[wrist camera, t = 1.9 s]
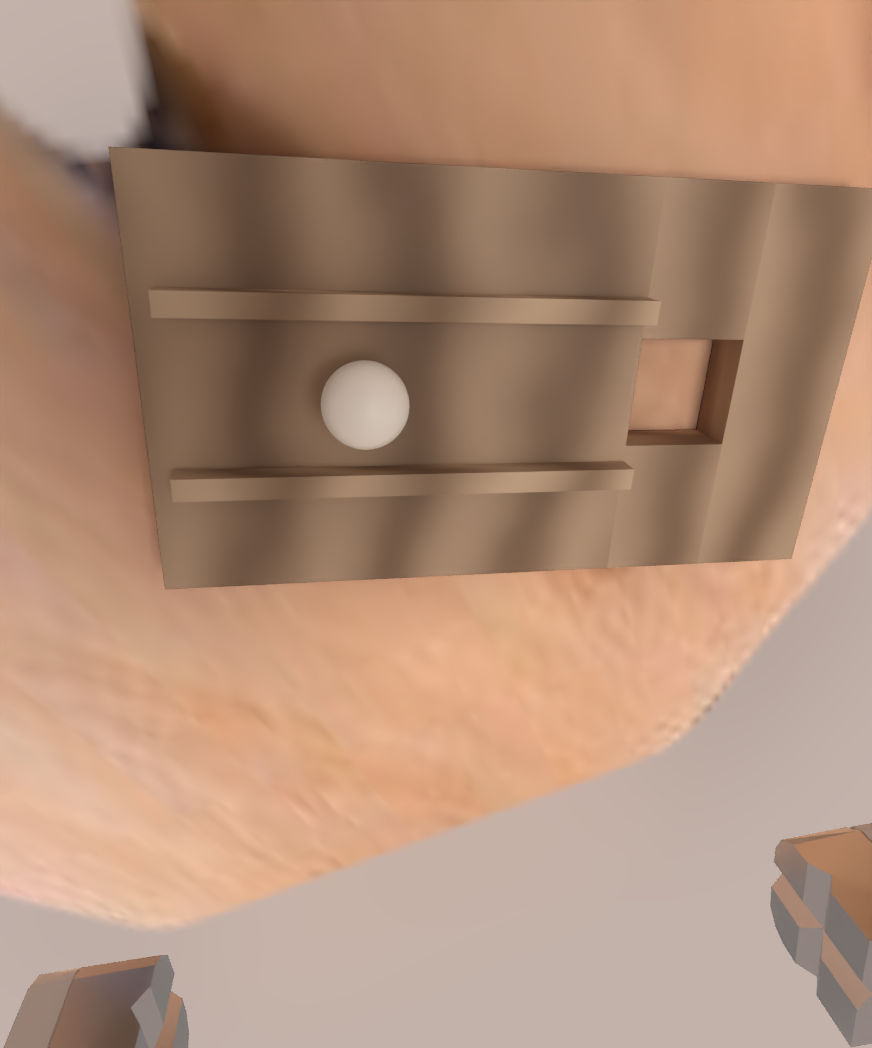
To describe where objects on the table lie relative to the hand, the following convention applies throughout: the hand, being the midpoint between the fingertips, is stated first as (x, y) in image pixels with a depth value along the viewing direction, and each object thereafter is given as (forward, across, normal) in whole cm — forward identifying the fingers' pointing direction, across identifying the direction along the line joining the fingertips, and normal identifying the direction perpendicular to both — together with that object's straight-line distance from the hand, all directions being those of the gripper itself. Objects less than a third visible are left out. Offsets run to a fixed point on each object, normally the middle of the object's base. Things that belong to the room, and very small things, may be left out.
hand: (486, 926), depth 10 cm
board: (+27, -6, -2) cm, 28 cm away
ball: (+22, 0, -3) cm, 22 cm away
